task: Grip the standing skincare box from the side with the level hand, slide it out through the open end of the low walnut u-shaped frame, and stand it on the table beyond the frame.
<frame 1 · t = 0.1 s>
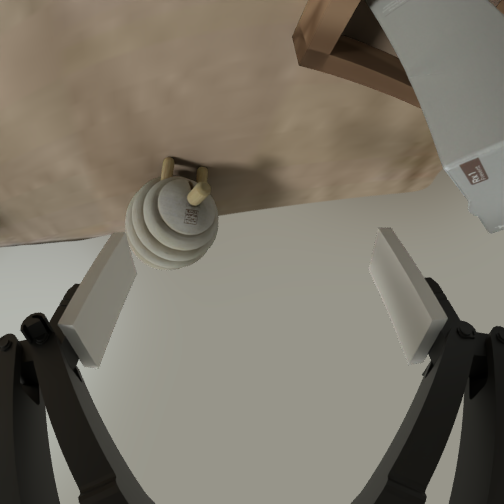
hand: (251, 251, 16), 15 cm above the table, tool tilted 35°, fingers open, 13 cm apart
skincare box: (416, 5, 14), on the table
grey ribbed rounded piece: (179, 177, 36), on the table
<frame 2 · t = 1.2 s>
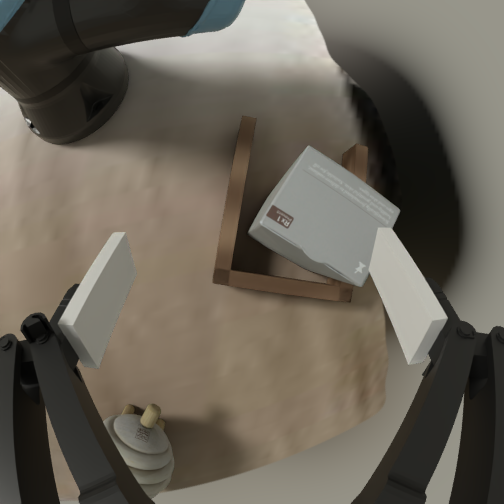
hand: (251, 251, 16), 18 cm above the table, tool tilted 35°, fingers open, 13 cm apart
walnut u-shaped frame: (290, 206, 35), on the table
skincare box: (286, 230, 35), on the table
grey ribbed rounded piece: (140, 433, 32), on the table
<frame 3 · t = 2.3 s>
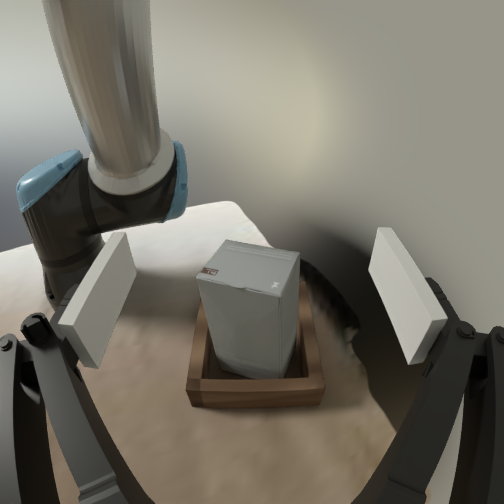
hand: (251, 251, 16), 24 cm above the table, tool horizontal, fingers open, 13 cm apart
walnut u-shaped frame: (255, 344, 39), on the table
skincare box: (255, 362, 37), on the table
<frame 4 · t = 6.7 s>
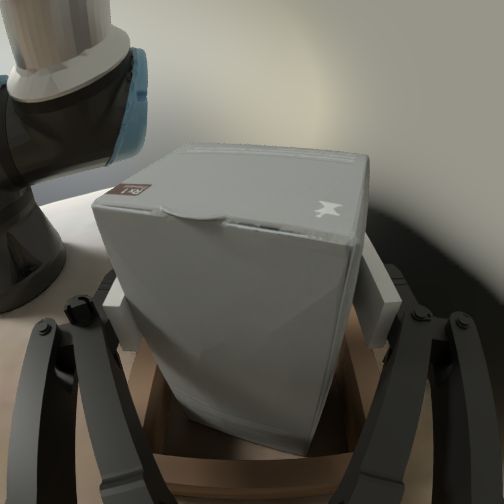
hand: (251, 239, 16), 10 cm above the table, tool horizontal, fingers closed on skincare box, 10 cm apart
walnut u-shaped frame: (254, 372, 21), on the table
skincare box: (255, 407, 19), on the table, touching gripper
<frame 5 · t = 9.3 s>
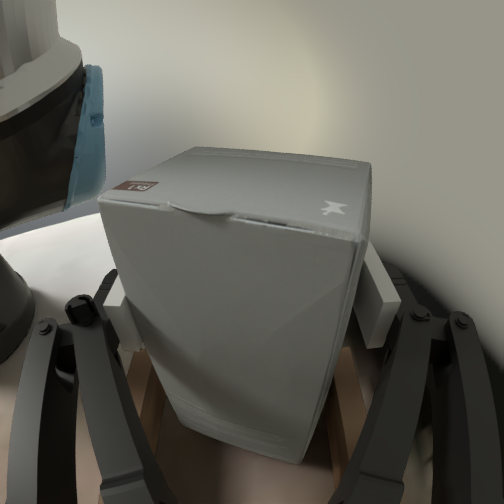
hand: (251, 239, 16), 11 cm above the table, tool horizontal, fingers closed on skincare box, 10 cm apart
walnut u-shaped frame: (241, 483, 15), on the table
skincare box: (250, 415, 18), point 1 cm above the table, touching gripper
when the fingers open (11 cm above the table, at t = 12.1 s): skincare box stays where it is, on the table.
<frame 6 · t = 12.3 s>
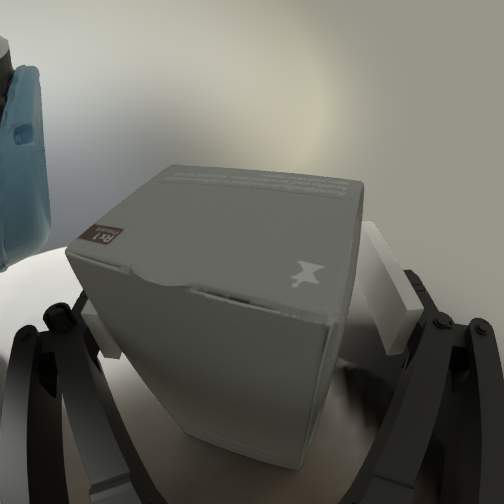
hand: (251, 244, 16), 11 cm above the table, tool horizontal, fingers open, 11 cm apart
skincare box: (251, 420, 18), on the table
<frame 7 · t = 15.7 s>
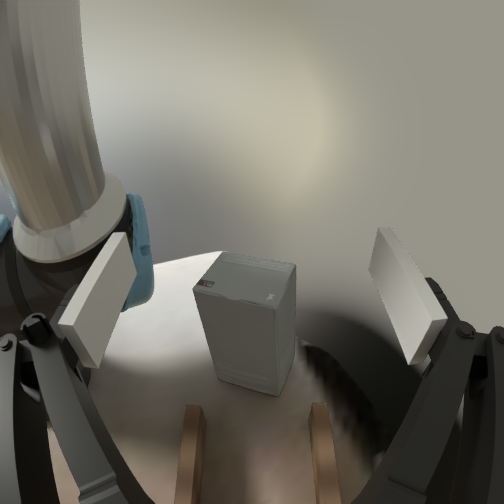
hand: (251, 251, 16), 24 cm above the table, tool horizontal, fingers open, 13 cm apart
walnut u-shaped frame: (257, 486, 24), on the table
skincare box: (253, 373, 37), on the table
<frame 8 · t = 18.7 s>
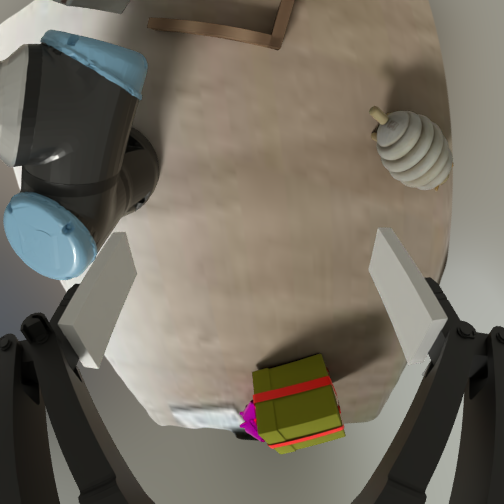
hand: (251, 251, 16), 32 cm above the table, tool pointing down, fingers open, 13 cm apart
gift box: (286, 378, 77), on the table
grey ribbed rounded piece: (396, 136, 42), on the table
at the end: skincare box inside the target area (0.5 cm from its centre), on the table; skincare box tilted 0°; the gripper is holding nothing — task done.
